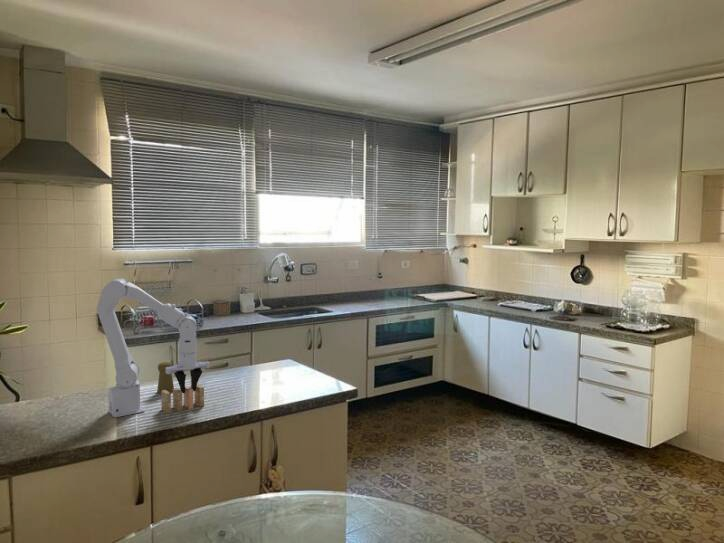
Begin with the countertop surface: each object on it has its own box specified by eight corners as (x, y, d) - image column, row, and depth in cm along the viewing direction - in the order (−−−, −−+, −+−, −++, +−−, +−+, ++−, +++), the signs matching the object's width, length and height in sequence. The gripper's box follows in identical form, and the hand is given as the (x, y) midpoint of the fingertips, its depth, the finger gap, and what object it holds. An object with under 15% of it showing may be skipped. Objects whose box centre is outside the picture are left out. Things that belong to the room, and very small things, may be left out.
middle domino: (178, 411, 182) (177, 392, 181) (173, 407, 186) (172, 388, 185) (182, 410, 183) (182, 391, 182) (177, 406, 187) (176, 387, 186)
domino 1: (166, 413, 179) (166, 394, 179) (161, 409, 183) (161, 390, 183) (171, 412, 180) (170, 393, 180) (165, 408, 184) (165, 389, 184)
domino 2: (189, 408, 184) (189, 390, 184) (183, 405, 188) (183, 386, 188) (193, 408, 185) (193, 389, 185) (187, 404, 189) (187, 385, 188)
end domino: (200, 406, 186) (199, 388, 186) (194, 402, 190) (194, 384, 190) (204, 405, 187) (203, 387, 187) (198, 402, 191) (198, 384, 191)
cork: (170, 394, 199) (170, 364, 198) (154, 394, 200) (153, 364, 199) (176, 389, 205) (176, 360, 204) (160, 389, 206) (160, 360, 205)
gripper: (203, 347, 192) (204, 385, 194) (162, 352, 183) (162, 392, 185) (212, 351, 187) (212, 389, 188) (169, 356, 178) (170, 397, 179)
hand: (188, 391), depth 186 cm, fingers open, 3 cm apart
